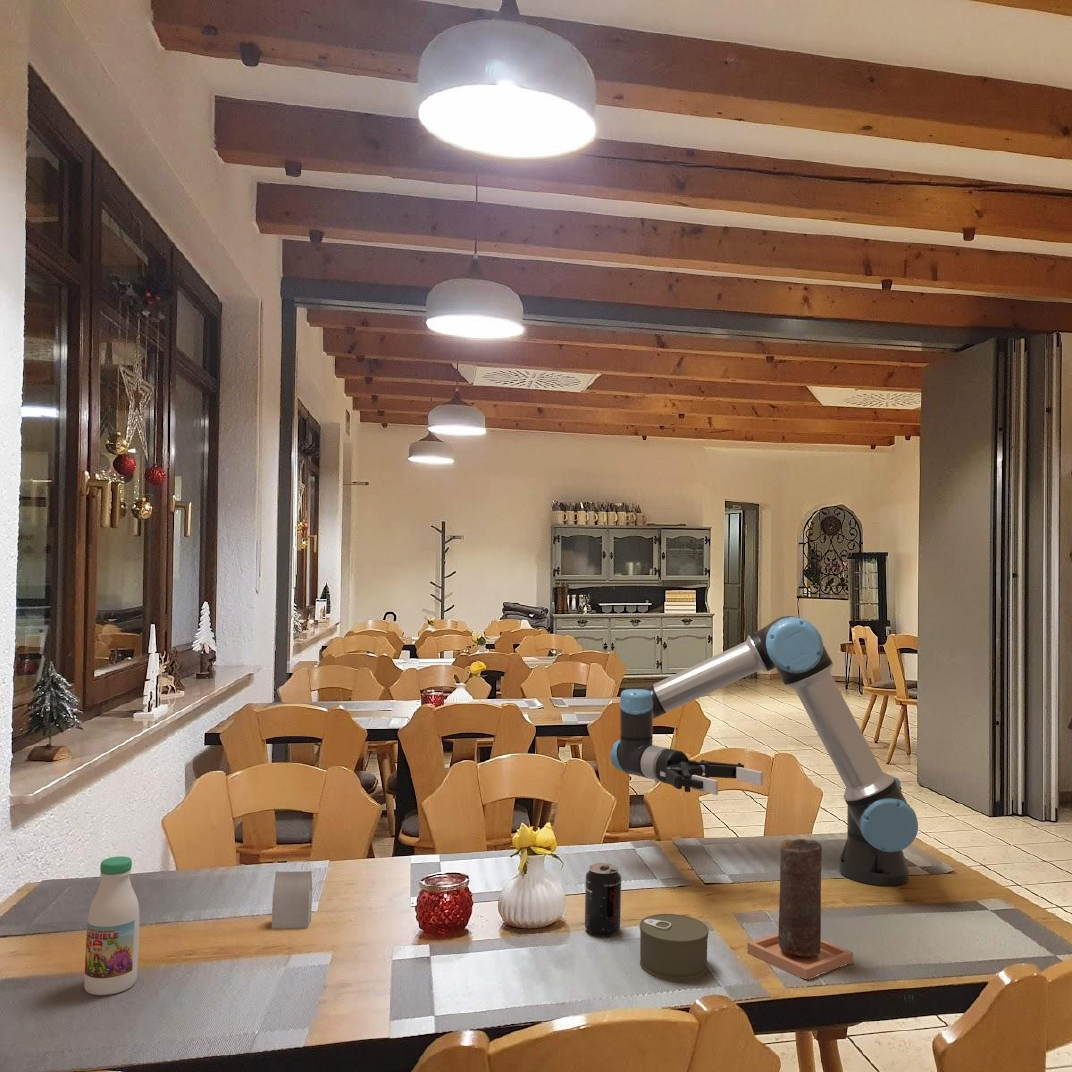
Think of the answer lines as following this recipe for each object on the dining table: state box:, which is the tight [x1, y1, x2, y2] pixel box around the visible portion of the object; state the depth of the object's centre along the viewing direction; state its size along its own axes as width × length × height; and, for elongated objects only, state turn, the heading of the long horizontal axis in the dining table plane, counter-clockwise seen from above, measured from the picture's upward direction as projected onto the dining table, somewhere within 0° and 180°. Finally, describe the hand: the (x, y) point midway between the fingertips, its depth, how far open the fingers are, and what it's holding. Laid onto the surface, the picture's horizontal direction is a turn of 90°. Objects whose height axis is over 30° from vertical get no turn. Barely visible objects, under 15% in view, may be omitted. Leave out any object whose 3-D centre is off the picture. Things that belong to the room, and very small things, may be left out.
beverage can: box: [584, 862, 622, 937], centre depth 168 cm, size 7×7×12 cm
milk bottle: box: [83, 855, 140, 996], centre depth 142 cm, size 8×8×20 cm
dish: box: [746, 932, 854, 980], centre depth 158 cm, size 13×13×2 cm
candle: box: [778, 838, 823, 957], centre depth 158 cm, size 8×7×20 cm
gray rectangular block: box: [271, 870, 313, 930], centre depth 168 cm, size 4×7×10 cm, turn 95°
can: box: [639, 913, 710, 982], centre depth 153 cm, size 12×12×7 cm
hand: (740, 783), depth 178 cm, fingers open, 13 cm apart
